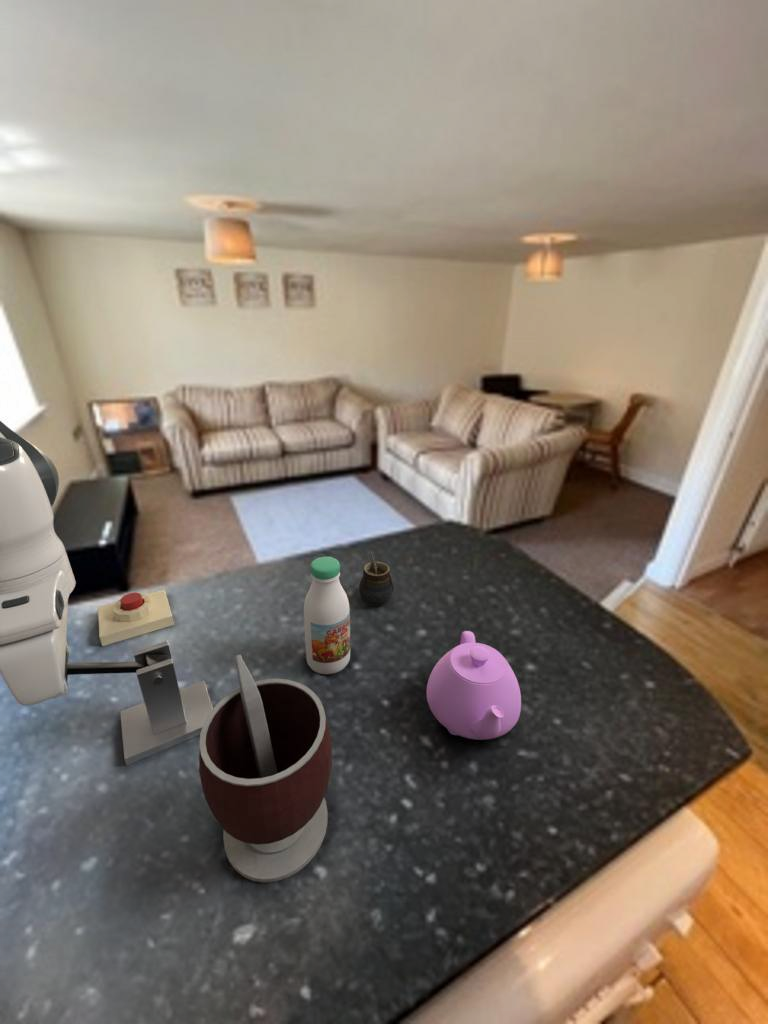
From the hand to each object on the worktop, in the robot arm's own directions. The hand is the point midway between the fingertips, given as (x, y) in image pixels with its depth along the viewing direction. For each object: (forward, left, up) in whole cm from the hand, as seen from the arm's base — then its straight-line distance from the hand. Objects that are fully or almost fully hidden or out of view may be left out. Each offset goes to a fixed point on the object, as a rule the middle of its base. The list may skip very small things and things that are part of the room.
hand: (60, 675), depth 56 cm
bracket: (+10, 0, -15) cm, 18 cm away
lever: (+5, 0, -3) cm, 5 cm away
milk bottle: (+36, 0, -15) cm, 39 cm away
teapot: (+50, -22, -15) cm, 57 cm away
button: (+8, +28, -11) cm, 31 cm away
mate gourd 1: (+19, -21, -15) cm, 32 cm away
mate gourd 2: (+52, +11, -15) cm, 55 cm away
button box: (+8, +28, -15) cm, 33 cm away
